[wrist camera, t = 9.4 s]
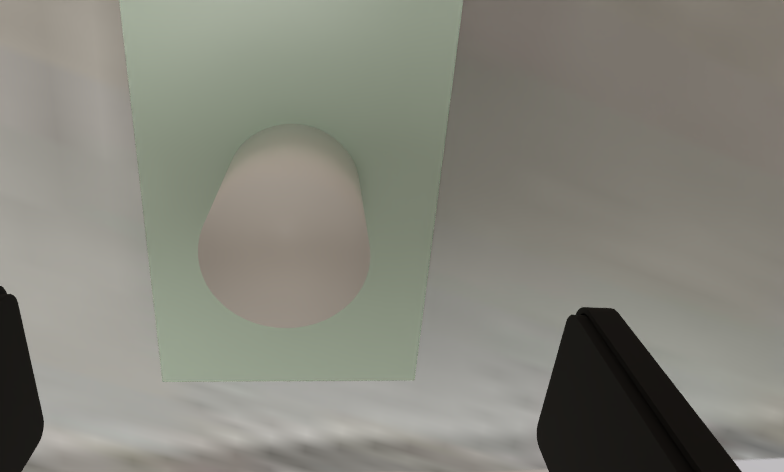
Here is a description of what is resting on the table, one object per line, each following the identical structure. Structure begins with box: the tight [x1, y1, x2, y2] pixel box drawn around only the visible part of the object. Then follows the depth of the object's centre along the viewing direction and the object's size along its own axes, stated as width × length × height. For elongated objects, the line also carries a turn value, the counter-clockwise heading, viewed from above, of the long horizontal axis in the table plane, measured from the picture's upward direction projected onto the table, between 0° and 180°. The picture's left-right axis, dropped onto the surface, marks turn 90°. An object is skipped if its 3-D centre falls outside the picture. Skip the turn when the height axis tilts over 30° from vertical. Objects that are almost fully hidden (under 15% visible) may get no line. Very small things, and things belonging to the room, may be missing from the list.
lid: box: [119, 0, 463, 382], centre depth 16 cm, size 9×15×6 cm, turn 175°
